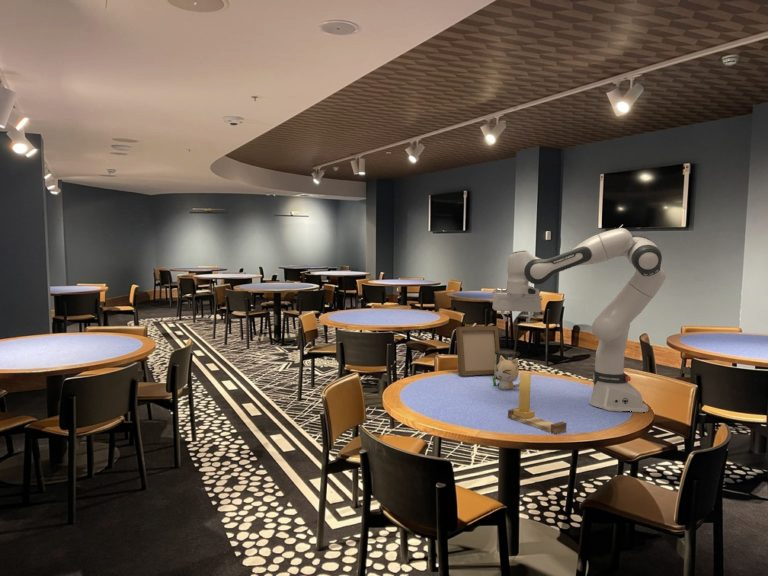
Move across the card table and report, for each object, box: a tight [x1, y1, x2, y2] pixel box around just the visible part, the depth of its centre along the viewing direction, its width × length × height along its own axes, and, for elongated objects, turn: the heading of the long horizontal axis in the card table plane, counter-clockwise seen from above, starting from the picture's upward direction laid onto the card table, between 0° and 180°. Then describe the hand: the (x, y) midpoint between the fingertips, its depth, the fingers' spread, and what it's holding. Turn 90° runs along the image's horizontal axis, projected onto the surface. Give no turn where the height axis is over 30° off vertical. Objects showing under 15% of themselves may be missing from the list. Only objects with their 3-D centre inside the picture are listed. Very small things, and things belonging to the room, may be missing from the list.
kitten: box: [492, 355, 520, 391], centre depth 250 cm, size 15×10×15 cm
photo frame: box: [455, 325, 501, 376], centre depth 280 cm, size 15×22×25 cm
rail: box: [507, 407, 567, 435], centre depth 199 cm, size 22×6×3 cm, turn 35°
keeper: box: [513, 372, 536, 419], centre depth 203 cm, size 6×5×16 cm
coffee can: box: [493, 349, 517, 383], centre depth 268 cm, size 10×10×14 cm
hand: (516, 321), depth 227 cm, fingers open, 8 cm apart
